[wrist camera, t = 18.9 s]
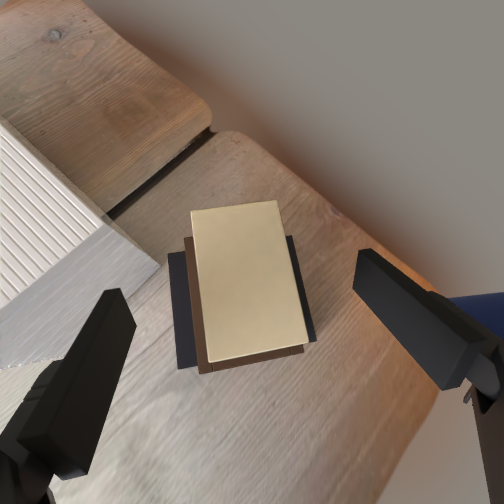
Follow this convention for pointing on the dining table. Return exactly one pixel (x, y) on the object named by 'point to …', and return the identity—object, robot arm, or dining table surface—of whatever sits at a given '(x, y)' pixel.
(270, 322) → the cream rectangular block
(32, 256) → the stack of papers
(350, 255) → the dining table surface
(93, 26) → the dining table surface
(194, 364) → the square socket base
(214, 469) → the dining table surface
